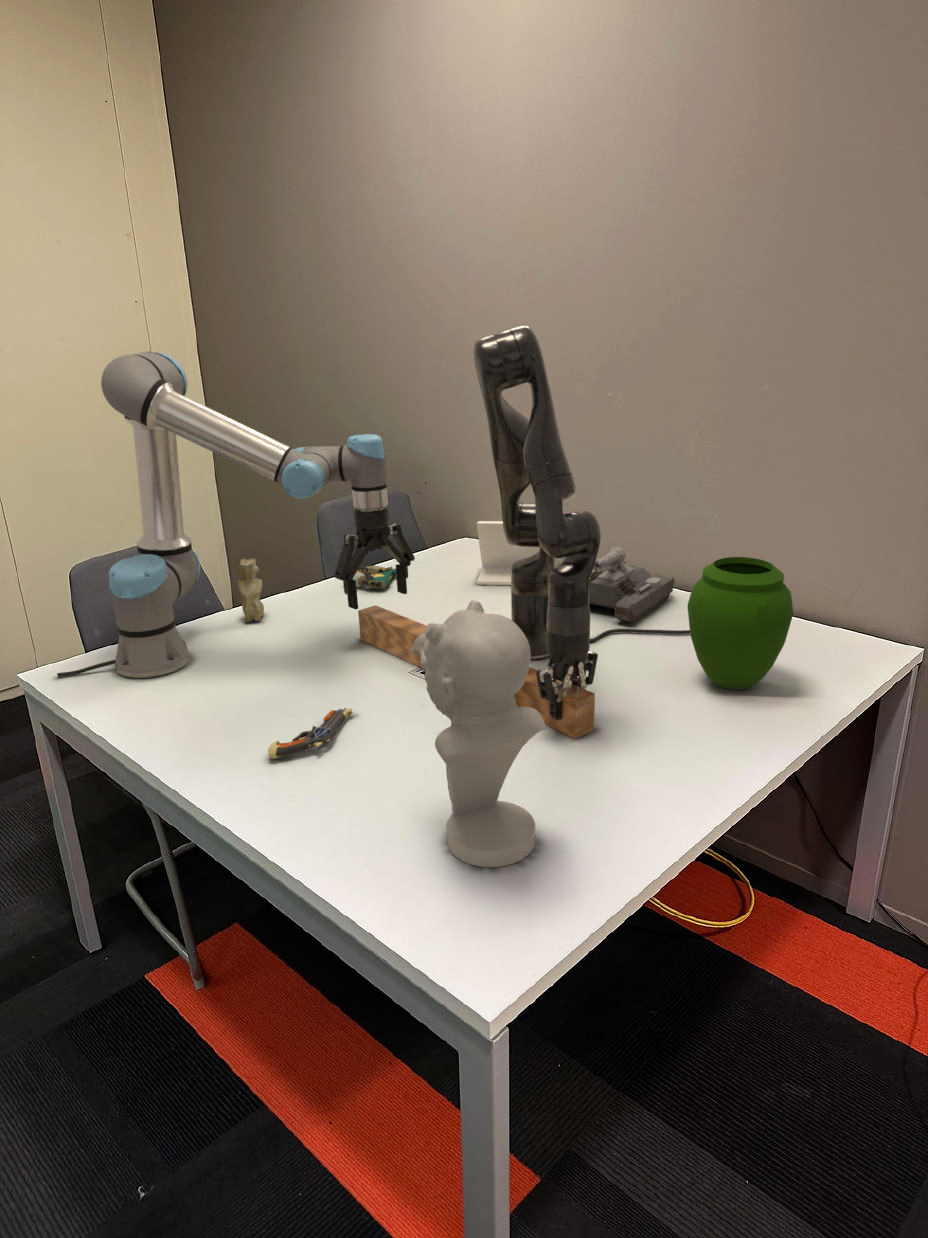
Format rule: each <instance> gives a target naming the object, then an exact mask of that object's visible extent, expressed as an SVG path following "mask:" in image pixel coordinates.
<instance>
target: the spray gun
mask: <svg viewBox="0 0 928 1238" xmlns="http://www.w3.org/2000/svg"><path fill="white" fill-rule="evenodd" d="M395 577H396V568H393V566H388V567H385V566H384V567H383V566H379V565H366V566H364V565H363V566H359V568H358V570H357V572H356V574H355V575H354V577H353V580H356V588H362V587H364V586H366V587H368V588H369V589H386V588H387V586H388V585H389V583H390V581H391V580H392V579H393V578H395Z"/></svg>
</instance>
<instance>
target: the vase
mask: <svg viewBox="0 0 928 1238" xmlns="http://www.w3.org/2000/svg"><path fill="white" fill-rule="evenodd" d="M784 580H785V574H784V573H783V572H782V571H781V570H780V569H779V568H777V567H776V566H775V565H774V564H773V563H771V562H770V561H767V560H764V559H761V558H754V557H746V556H730V557H723V558H722V557H721V558H718V559H716V560H715V561H713V562H712V563H710V564H708V565H706V566H705V567H704V568H703V569H702V576H701V577H700V578H699V579H698V580H697V581H696V582H695V583H694V584H693V585H692V588H691V591H690V595H689V598H688V601H687V613H688V614H687V615H688V625H689V630H690V634H689V635H690V636H689V637H690V640H691V642H692V645H693V648H694V651H695V656H696V659H697V661H698V663H699V665H700V666H701V668H702V670H703V672H704V674H705V675H706V676H707V677H708V678H709V680H710V681H711V682H712V683H713V684H714V685H716V686H718V687H720V688H723V689H726V690H731V691H740V690H747V689H750V688H752V687H754V686H755V685H757V684H758V683H759V682H760V681H761V680H763V679H764V677H765V676H766V675H767V674H768V673H769V672H770V670H771V669H772V668H773V666H774V665H775V663H776V661H777V659H778V657H779V655H780V653H781V651H782V650H783V648H784V646H785V643H786V640H787V637H788V634H789V631H790V630H789V629H790V627H791V623H792V620H793V617H794V607H793V606H794V605H793V599H792V592H791V590H790V589H789V588H788V586H787V585H786V584H785V583H784Z"/></svg>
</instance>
